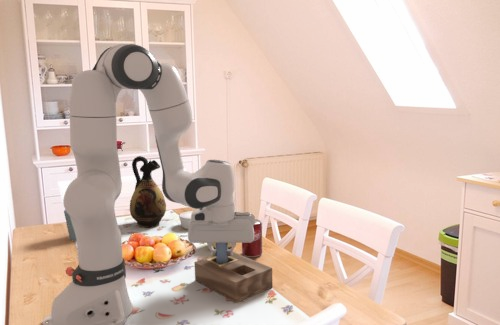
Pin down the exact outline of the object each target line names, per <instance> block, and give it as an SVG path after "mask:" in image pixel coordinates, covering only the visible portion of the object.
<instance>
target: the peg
mask: <svg viewBox="0 0 500 325" xmlns="http://www.w3.org/2000/svg"><path fill="white" fill-rule="evenodd" d="M215 249H216V261H217V263H218V264H220V265H221V264H224V263H227V262H228V255H227V254H228V253H227V251H228V249H229V248H228V243H222V242H220V243H216V248H215Z"/></svg>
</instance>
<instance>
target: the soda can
mask: <svg viewBox="0 0 500 325" xmlns="http://www.w3.org/2000/svg"><path fill="white" fill-rule="evenodd" d="M253 228H254V240H253V241H252V242H251V243H241V255H242V256H245V257H247V258H258V257H260V256H261V255H262V254H263V222H262V221H261V220H259V219H257V218H255V224H254V226H253Z"/></svg>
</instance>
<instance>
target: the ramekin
mask: <svg viewBox="0 0 500 325" xmlns="http://www.w3.org/2000/svg"><path fill="white" fill-rule="evenodd" d="M193 211H194V210H188V211H184V212H181V213H180V214H179V220H180V224H181V227H182V228H183V229H186V230H188V229H189V224H190V222H191V221H192V220H191V214H192V212H193Z"/></svg>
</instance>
